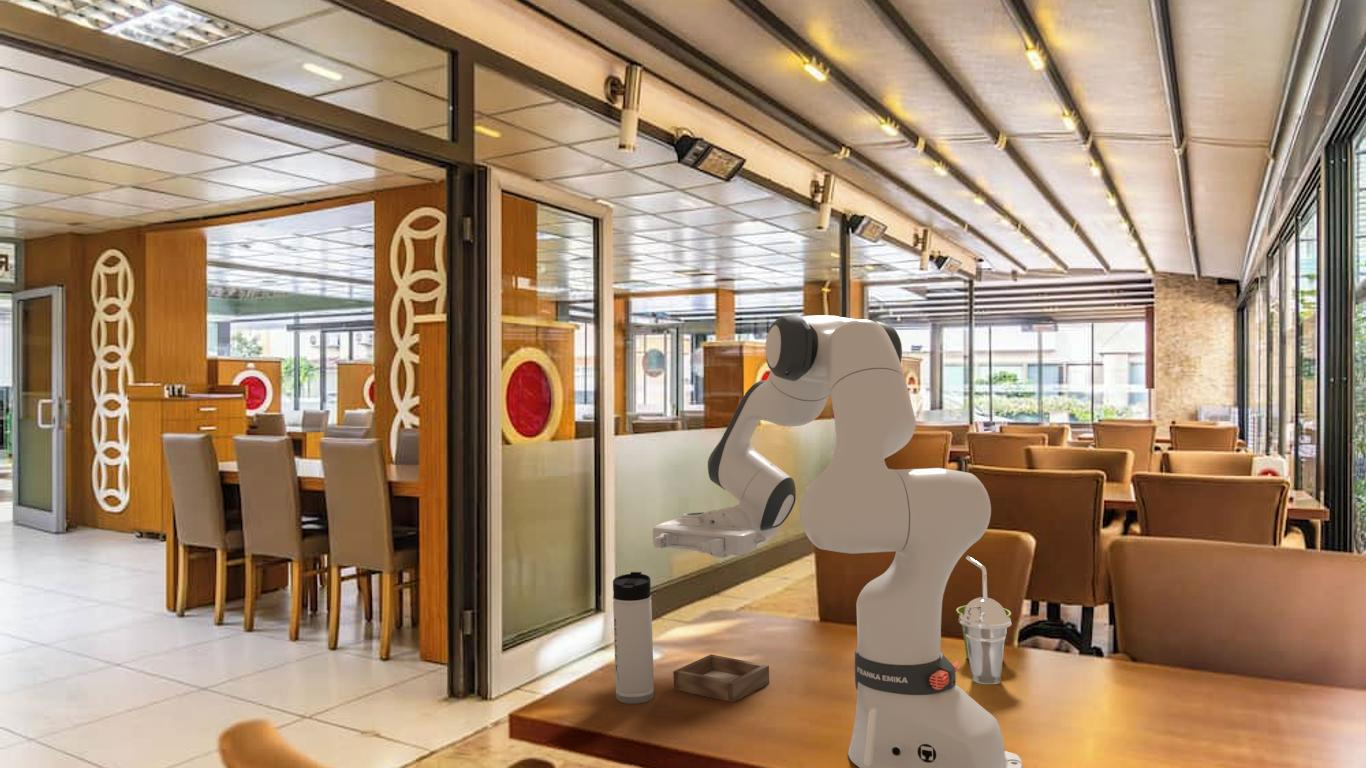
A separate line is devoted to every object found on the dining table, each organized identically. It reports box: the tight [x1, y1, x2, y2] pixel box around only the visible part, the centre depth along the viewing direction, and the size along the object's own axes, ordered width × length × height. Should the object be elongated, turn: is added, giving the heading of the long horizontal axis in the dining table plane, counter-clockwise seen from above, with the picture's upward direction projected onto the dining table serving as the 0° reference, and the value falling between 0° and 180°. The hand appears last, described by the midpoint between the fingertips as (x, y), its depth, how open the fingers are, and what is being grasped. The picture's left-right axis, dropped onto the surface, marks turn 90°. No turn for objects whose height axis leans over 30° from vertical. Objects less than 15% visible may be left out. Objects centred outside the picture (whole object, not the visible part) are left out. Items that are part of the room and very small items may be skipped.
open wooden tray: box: [672, 654, 770, 703], centre depth 157 cm, size 12×11×3 cm
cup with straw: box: [958, 555, 1013, 685], centre depth 156 cm, size 8×9×20 cm
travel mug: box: [612, 571, 655, 705], centre depth 153 cm, size 6×7×20 cm
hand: (678, 545), depth 163 cm, fingers open, 8 cm apart
